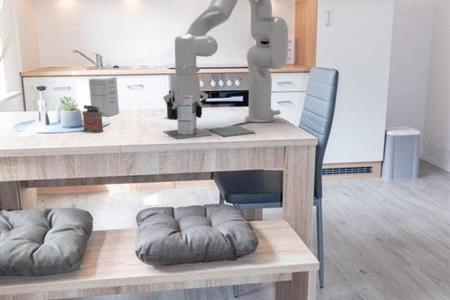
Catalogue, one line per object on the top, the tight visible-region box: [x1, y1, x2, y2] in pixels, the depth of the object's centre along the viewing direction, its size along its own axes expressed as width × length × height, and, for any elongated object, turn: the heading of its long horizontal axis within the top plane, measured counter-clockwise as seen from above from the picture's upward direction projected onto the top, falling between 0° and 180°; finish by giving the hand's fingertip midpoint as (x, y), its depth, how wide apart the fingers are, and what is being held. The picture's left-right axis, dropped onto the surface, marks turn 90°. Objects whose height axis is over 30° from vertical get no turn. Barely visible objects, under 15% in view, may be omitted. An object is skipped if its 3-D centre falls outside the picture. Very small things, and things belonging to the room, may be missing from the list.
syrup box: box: [176, 95, 198, 135], centre depth 167 cm, size 6×6×14 cm
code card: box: [162, 127, 213, 140], centre depth 168 cm, size 14×14×1 cm
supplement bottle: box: [166, 89, 177, 120], centre depth 198 cm, size 7×7×12 cm
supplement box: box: [88, 76, 120, 117], centre depth 206 cm, size 10×9×17 cm
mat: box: [208, 125, 256, 138], centre depth 171 cm, size 13×13×1 cm
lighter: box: [82, 104, 104, 134], centre depth 171 cm, size 8×3×10 cm, turn 71°
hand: (186, 118), depth 167 cm, fingers open, 9 cm apart
